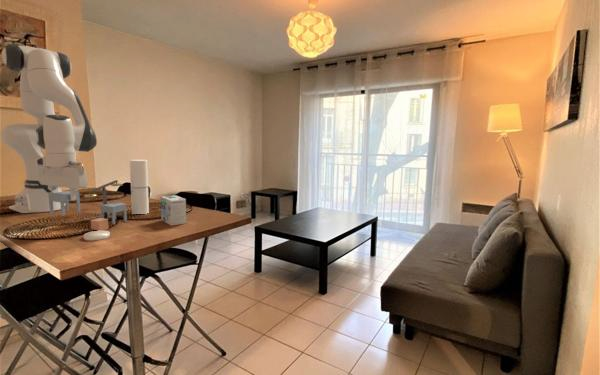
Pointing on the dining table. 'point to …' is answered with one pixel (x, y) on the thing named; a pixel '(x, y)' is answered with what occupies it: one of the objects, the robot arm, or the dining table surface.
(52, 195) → the cover low
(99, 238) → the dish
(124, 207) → the cover high
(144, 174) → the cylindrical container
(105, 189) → the balance
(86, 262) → the dining table surface
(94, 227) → the block
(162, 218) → the light bulb box
